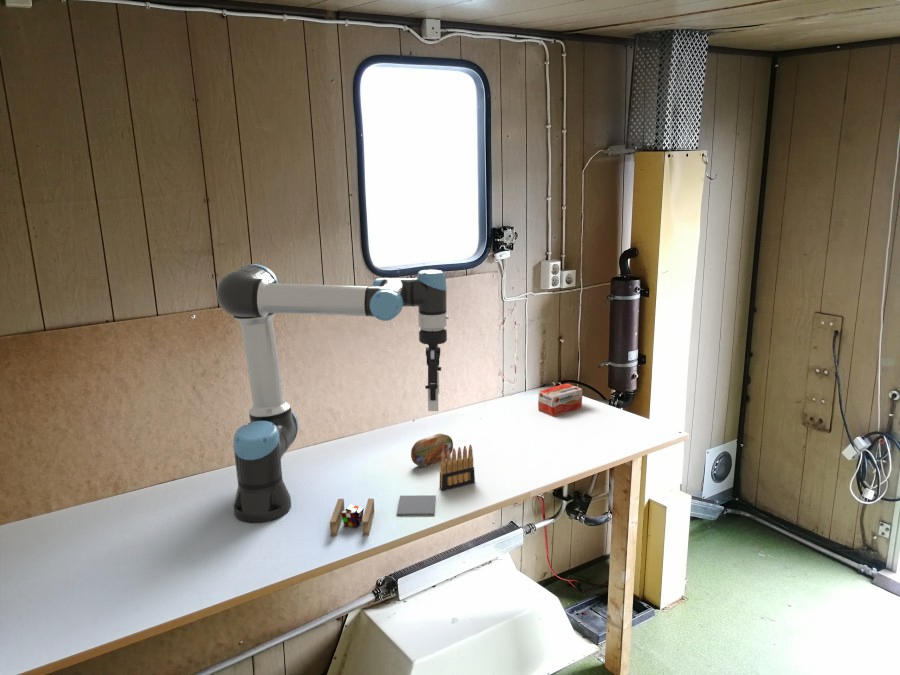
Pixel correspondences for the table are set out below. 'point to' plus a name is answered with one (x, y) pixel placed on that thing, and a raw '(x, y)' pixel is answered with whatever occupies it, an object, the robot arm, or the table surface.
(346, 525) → the rubik's cube
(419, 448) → the tin
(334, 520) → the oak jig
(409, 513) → the rubber pad
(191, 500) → the table surface
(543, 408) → the medicine box
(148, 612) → the table surface
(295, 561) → the table surface
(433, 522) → the table surface
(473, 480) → the ammunition clip
